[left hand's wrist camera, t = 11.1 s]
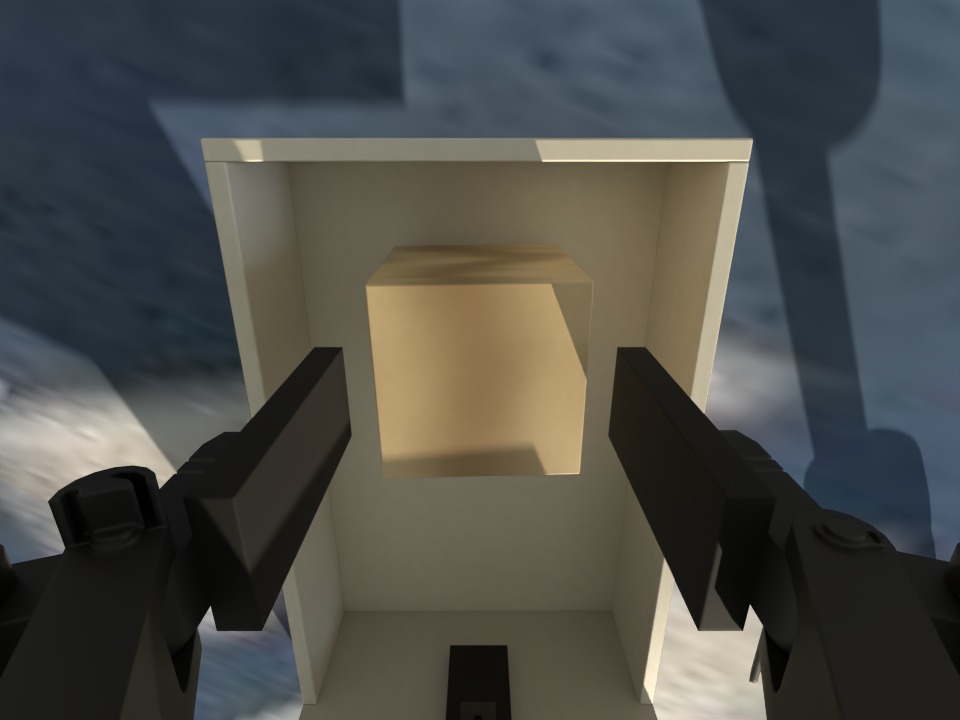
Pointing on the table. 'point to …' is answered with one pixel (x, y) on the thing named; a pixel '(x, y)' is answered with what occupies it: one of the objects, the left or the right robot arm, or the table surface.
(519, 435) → the block
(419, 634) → the box
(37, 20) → the table surface
